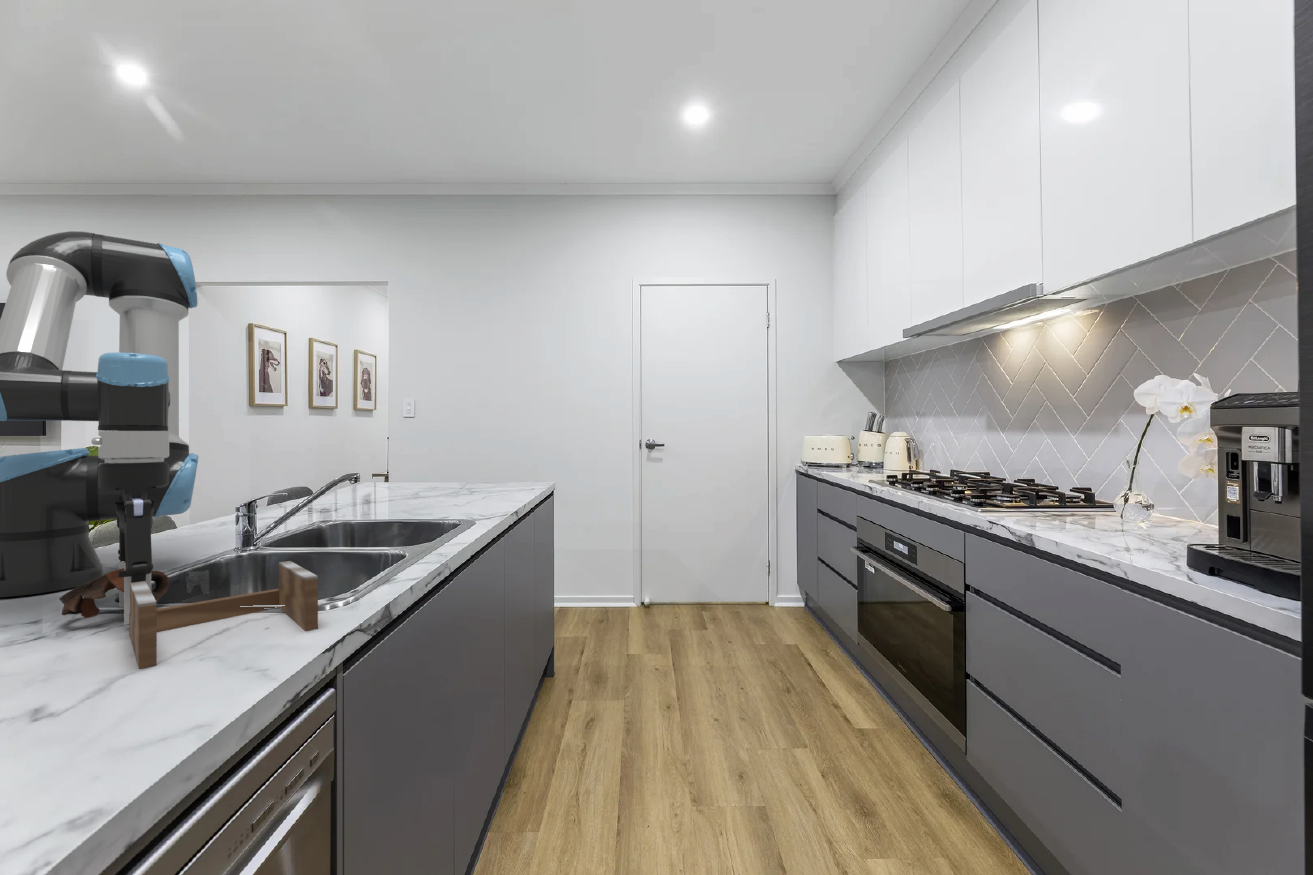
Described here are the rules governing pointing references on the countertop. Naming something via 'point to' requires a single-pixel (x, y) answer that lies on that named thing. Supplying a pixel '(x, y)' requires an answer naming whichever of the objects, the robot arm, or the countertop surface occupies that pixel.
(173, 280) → the robot arm
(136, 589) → the wooden stand
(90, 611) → the pottery mug
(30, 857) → the countertop surface
